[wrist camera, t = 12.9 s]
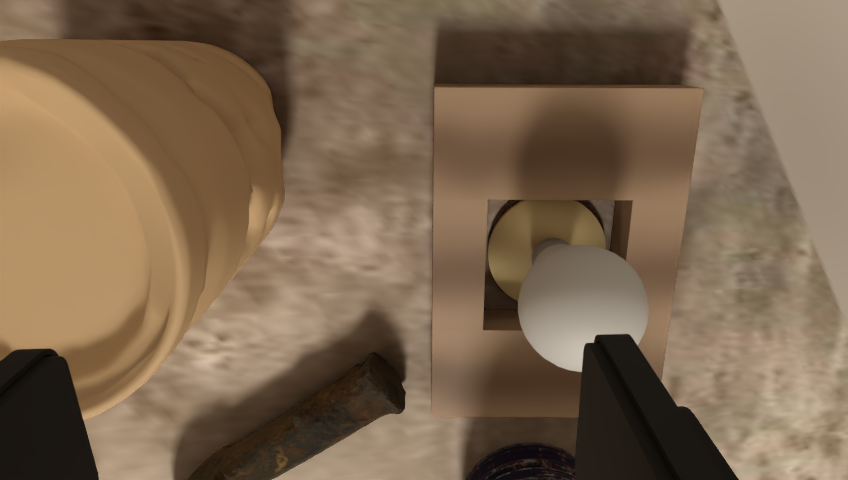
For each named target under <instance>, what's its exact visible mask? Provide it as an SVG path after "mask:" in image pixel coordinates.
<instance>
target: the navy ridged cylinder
mask: <svg viewBox="0 0 848 480" xmlns="http://www.w3.org/2000/svg"><path fill="white" fill-rule="evenodd" d="M466 480H576V475H575V457H574V456H573V455H571V454H570V453H568V452H566V451H564V450H562V449H560V448H557V447H554V446H551V445H546V444H540V443H523V444H516V445H511V446H507V447H505V448H502V449H499V450H497V451H495V452H493V453H491V454H489V455H488V456H486V457H485V458H484V459H482V460H481V461H480V462H479V463H478V464H477V465H476V466H475V467H474V468H473V469H472V470H471V472H470V473H469V475H468V476H467V478H466Z"/></svg>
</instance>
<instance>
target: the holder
mask: <svg viewBox="0 0 848 480" xmlns="http://www.w3.org/2000/svg"><path fill="white" fill-rule="evenodd" d="M703 93H704V88H698V87H692V86H686V85H636V84H434V134H433V254H432V375H431V404H432V417H566V418H578V415H579V402H580V389H581V376H582V372H577V371H571V370H567V369H564V368H561V367H558V366H556V365H555V364H553V363H551V362H550V361H548V360H546V359H544V358H543V357H542V356H541V355H540V354H539V353H538V352H537V351H536V350H535V349H534V348H533V347H532V345H531V344H530V343H529V341H528V340H527V339H526V337H525V334H524V332H523V330H522V328H521V324H520V320H519V315H518V309H484V288H485V262H486V236H487V209H488V200H521V201H519V202H518V203H516V204H514V205H513V206H511V207H510V208H509V209H508V210H506V211H505V213H504V214H503V215H502V216H501V217H500V218H499V219H498V221H497V222H496V224H495V226H494V227H493V229H492V232H491V234H490V237H489V241H488V249H487V256H488V263H489V267H490V270H491V273H492V276H493V278H494V280H495V281H496V283H497V284H498V286H499V287H500V288H501V289H502V290H503V291H504V292H505V293H506V294H507V295H508V296H510V297H511V298H513V299H514V300H516V301H518V299H519V294H520V290H521V286H522V284H523V281H524V279H525V277H526V275H527V274H528V272H529V271H530V270H531V268H532V267H533V265H532V253H533V250H534V248H535V247H536V246H537V245H538V244H539V243H540V242H541V241H543V240H545V239H548V238H560V239H562V240H564V241H566V242H567V243H569V244H570V245H571V246H572V245H590V246H596V247H600V248H602V249H605V250H606V241H605V236H604V232H603V230H602V227H601V225H600V223H599V222H598V220H597V218H596V217H595V216H594V215H593V213H592V212H591V211H590V210H588V209H587V208H586V207H585V206H584V205H582V204H581V203H580V202H578V201H576V200H615V209H614V218H613V227H612V237H611V246H610V252H613V253H615V254H616V255H618V256H620V257H621V258H623V259H624V260H625V261H626V262H627V263H628V264H629V265H630V266H631V267H632V268H633V269H634V270H635V271H636V273H637V274H638V276H639V277H640V279H641V281H642V283H643V286H644V289H645V291H646V294H647V298H648V306H649V313H648V323H647V327H646V330H645V333H644V335H643V337H642V339H641V341H640V342H639V344H638V345H637V346H638V347H639V349H640V350H641V352H642V353H643V355H644V356H645V358H646V359H647V361H648V362H649V364H650V365H651V367H652V369H653V370H654V372H655V373H656V375H657V376H658V378H659V379H660V381H661V379H662V372H663V366H664V359H665V352H666V345H667V338H668V331H669V325H670V318H671V311H672V304H673V297H674V290H675V284H676V277H677V270H678V263H679V256H680V250H681V243H682V236H683V229H684V222H685V215H686V209H687V202H688V195H689V188H690V181H691V174H692V168H693V161H694V154H695V147H696V140H697V134H698V127H699V120H700V113H701V106H702V99H703Z"/></svg>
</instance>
